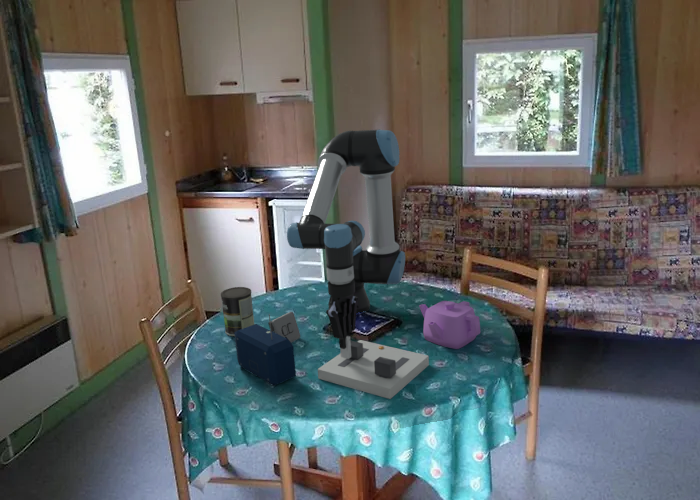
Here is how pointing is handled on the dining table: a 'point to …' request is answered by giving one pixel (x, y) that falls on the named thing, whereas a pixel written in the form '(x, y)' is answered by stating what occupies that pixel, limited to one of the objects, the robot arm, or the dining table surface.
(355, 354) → the block
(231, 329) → the coffee can
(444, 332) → the teakettle
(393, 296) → the dining table surface
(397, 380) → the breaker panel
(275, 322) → the electrical switch
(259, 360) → the radio
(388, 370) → the block
